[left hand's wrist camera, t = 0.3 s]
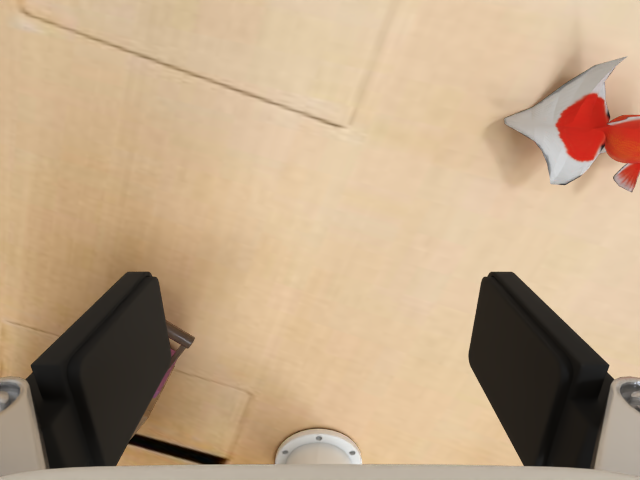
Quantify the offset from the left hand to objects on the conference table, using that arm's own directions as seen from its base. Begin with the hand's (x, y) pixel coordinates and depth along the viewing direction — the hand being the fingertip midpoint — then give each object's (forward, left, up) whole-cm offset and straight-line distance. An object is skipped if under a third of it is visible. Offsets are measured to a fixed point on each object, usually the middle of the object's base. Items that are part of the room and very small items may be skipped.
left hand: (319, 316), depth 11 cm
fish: (+2, -25, -31) cm, 40 cm away
